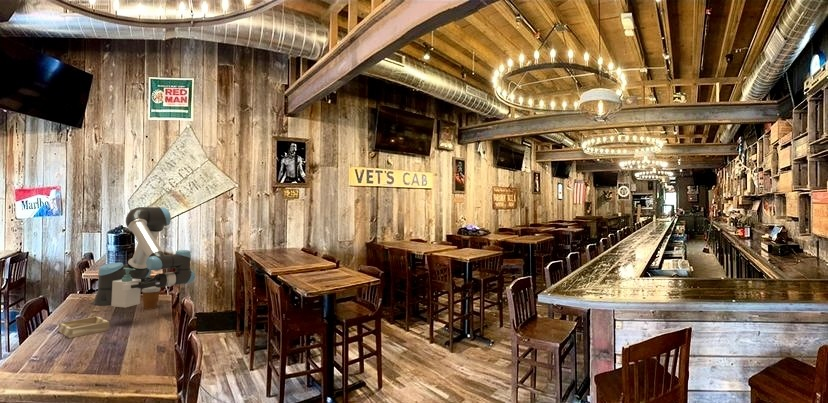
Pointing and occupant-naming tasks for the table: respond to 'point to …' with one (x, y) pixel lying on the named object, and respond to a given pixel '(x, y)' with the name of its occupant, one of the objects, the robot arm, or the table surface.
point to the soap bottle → (125, 291)
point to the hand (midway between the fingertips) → (117, 285)
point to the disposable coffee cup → (150, 297)
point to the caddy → (83, 326)
